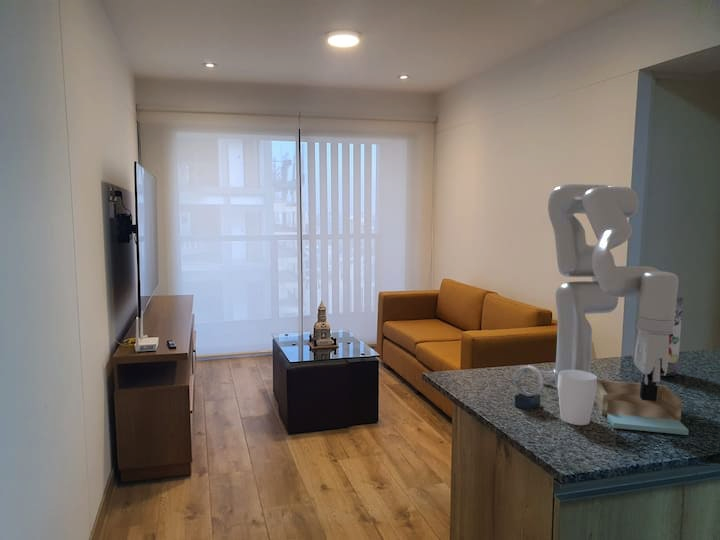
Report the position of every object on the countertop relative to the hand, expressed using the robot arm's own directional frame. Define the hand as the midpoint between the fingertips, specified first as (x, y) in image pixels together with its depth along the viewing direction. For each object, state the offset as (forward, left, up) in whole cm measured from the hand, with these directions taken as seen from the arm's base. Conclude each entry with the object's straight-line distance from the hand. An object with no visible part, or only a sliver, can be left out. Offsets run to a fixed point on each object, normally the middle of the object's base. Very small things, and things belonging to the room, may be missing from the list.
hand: (647, 399), depth 126 cm
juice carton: (+16, +52, -8) cm, 55 cm away
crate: (0, +12, -8) cm, 15 cm away
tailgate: (0, +5, -7) cm, 9 cm away
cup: (-16, +2, -8) cm, 18 cm away
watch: (-27, +10, -8) cm, 29 cm away
